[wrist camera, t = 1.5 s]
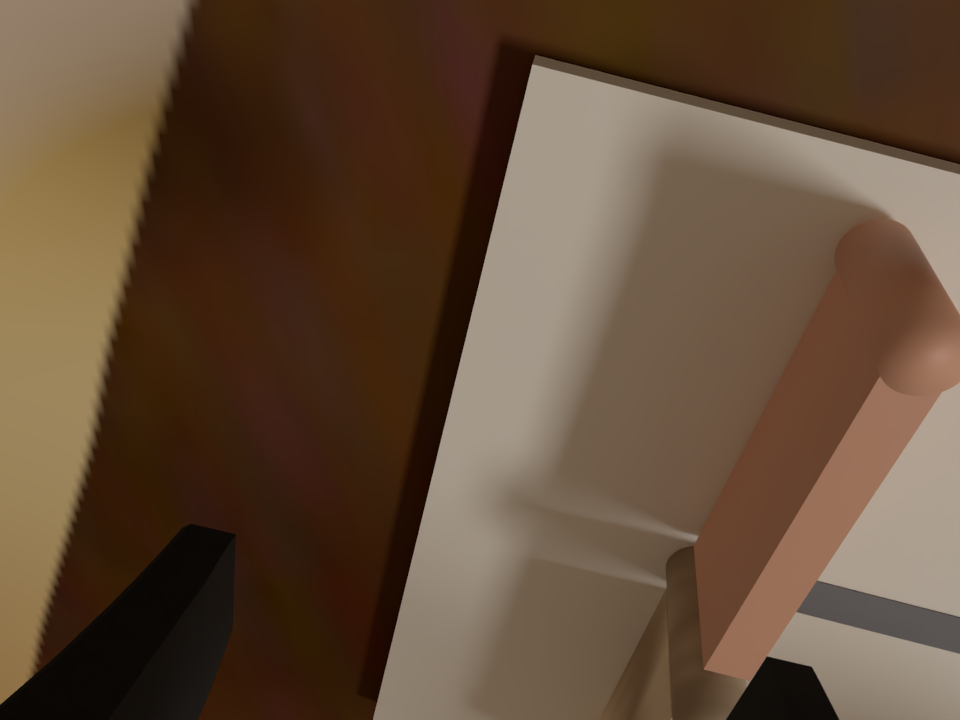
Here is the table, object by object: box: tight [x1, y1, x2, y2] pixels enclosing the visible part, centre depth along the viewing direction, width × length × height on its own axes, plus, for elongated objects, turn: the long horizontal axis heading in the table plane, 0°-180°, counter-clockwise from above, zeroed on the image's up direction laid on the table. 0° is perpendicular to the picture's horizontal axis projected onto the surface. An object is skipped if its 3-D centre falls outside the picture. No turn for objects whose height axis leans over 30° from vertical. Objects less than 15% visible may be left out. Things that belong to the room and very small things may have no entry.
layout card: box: [373, 55, 960, 720], centre depth 22 cm, size 18×21×1 cm
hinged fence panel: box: [694, 219, 960, 681], centre depth 17 cm, size 9×1×4 cm, turn 168°
